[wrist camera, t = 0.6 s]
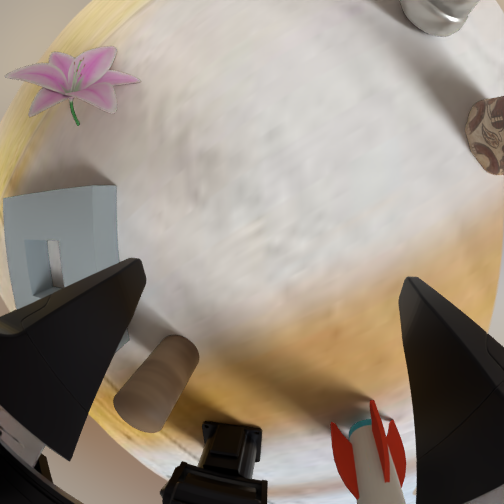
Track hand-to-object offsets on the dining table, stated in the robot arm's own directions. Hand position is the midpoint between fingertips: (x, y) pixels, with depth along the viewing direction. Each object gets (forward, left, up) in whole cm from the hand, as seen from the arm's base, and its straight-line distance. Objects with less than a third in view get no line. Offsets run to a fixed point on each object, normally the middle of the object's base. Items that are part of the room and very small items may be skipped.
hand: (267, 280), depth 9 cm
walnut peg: (-12, +9, -13) cm, 19 cm away
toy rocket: (-20, -10, -13) cm, 26 cm away
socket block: (-4, +22, -13) cm, 26 cm away
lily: (+13, +17, -13) cm, 25 cm away
